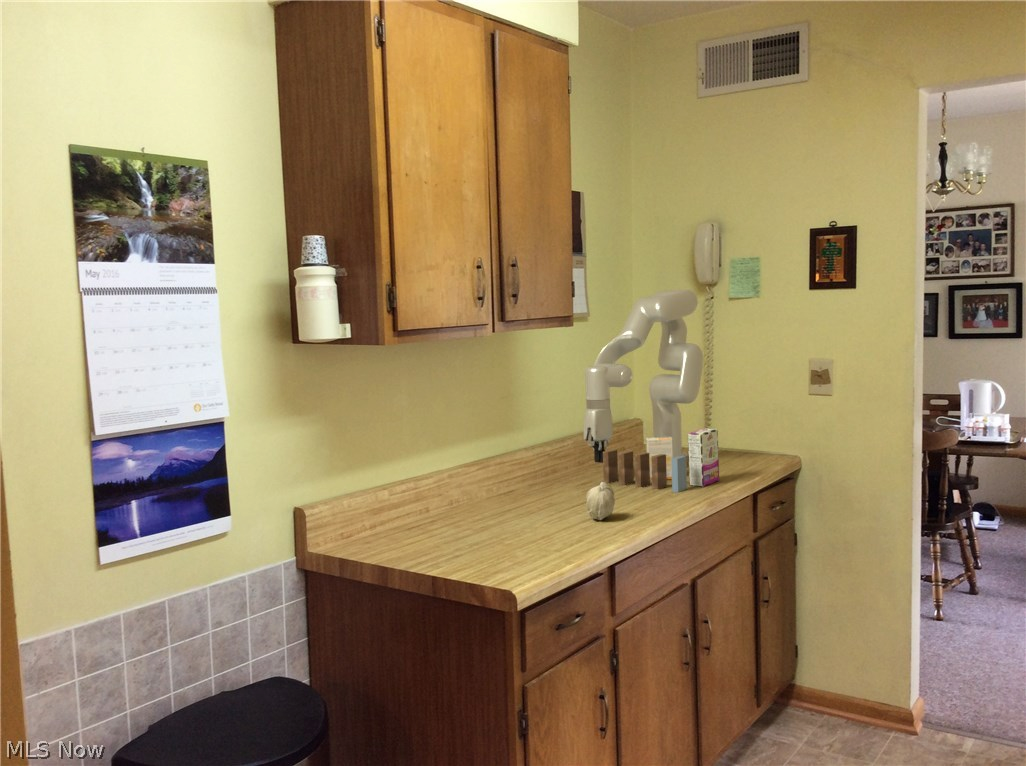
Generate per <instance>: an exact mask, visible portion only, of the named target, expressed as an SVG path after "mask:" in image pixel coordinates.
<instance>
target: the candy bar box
mask: <svg viewBox="0 0 1026 766" xmlns="http://www.w3.org/2000/svg"><path fill="white" fill-rule="evenodd" d="M718 430H719V429H718V428H708V427H706V428H705V427H704V428H701V429H698V430H695V431H691V432H687V446H688V448H687V449H688V451H687V453H688V473H689V476H688V477H689V486H690V485H693V486H692V487H697V486H702V487H703V488H704V486H705V487H706V485H707V486H709V484H710V485H711V484H714V482H715V483H717V482H719V481H720V462H719V436H718V435H719V434H718V433H719V431H718ZM702 487H701V488H702Z"/></svg>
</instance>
